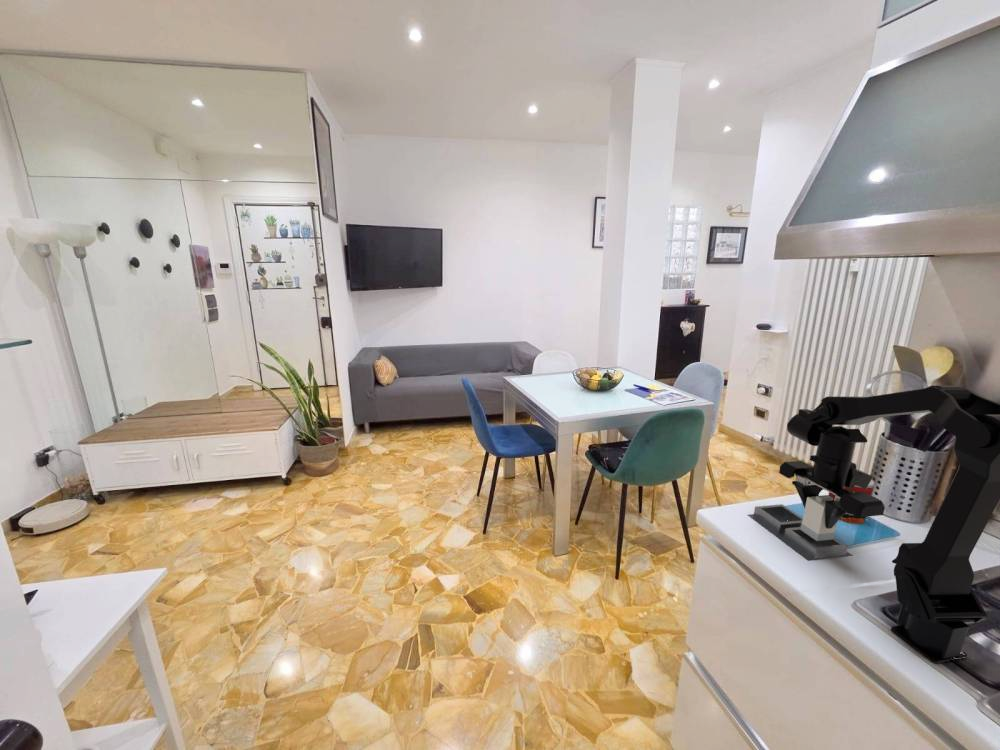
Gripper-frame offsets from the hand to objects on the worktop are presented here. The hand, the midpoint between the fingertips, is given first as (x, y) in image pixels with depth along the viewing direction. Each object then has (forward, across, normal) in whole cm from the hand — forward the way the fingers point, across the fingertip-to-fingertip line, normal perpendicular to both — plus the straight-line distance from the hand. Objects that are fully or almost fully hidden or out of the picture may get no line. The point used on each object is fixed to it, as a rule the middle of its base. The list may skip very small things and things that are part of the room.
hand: (819, 522), depth 88 cm
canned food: (+7, +10, -19) cm, 22 cm away
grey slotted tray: (+7, +5, 0) cm, 8 cm away
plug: (+3, 0, 0) cm, 3 cm away
